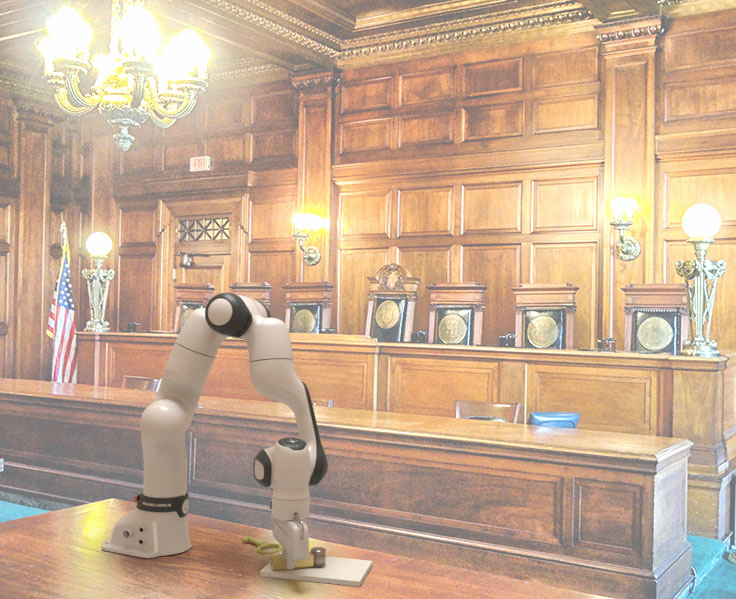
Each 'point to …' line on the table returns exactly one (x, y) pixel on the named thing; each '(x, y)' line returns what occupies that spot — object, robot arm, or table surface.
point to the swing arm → (314, 559)
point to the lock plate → (325, 572)
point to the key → (263, 545)
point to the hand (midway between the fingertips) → (289, 567)
